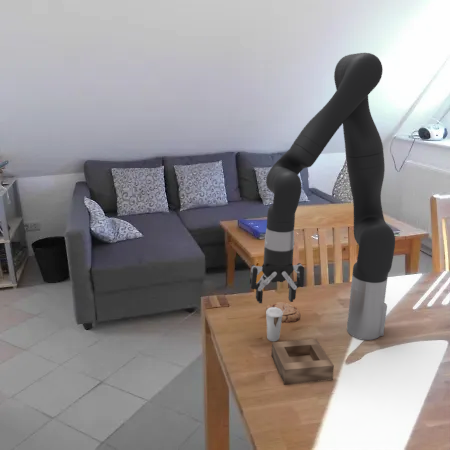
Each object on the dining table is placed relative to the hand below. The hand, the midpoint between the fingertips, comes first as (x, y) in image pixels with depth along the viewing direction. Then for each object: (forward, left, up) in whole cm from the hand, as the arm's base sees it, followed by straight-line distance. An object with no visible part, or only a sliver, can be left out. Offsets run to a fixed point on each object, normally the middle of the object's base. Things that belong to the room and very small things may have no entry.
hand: (275, 301), depth 131 cm
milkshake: (0, 0, -12) cm, 12 cm away
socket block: (-3, +14, -11) cm, 18 cm away
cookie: (-6, -13, -12) cm, 19 cm away
